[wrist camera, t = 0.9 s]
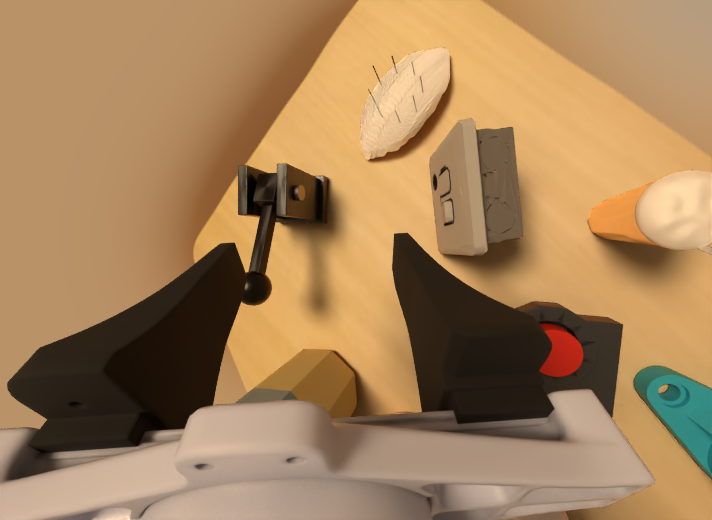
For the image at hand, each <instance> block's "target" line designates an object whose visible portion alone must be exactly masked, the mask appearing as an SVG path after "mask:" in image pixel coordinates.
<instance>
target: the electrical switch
mask: <svg viewBox="0 0 712 520" xmlns="http://www.w3.org/2000/svg"><path fill="white" fill-rule="evenodd" d="M507 144H508V145H507ZM506 160H507V161H506ZM429 167H430V177H431V186H432V196H433V205H434V214H435V224H436V233H437V242H438V250H439V252H440V253H441V254H453V255H471V256H474V255H484V254H485V253H486V252H487V251H488V248H487V243H497V242H503V241H507V240H513V239H520V238H521V237H523V227H522V217H521V206H520V196H519V185H518V175H517V164H516V154H515V143H514V133H513V127H508V128H501V129H481V130H476V125H475V121H474V120H473V119H472V118H470V119H465V120H459V121H458V122H457V123H456V125H455V126H454V127H453V128H452V130H451V131H450V132H449V134H448V135H447V136H446V138H445V139H444V140H443V142H442V143H441V144H440V146H439V147H438V148H437V149H436V151H435V152H434V153H433V155H432V156H431V157H430V163H429ZM495 170H498V171H497V172H495V173H494V174H492V173H490V171H495ZM485 175H486V177H485ZM496 197H497V198H499V199H495V198H496ZM502 202H504V203H502ZM489 206H490V208H489V209H488V207H489ZM515 215H516V217H515ZM509 229H510V230H509ZM490 230H491V231H490ZM507 230H508V231H507ZM492 231H493V232H492Z"/></svg>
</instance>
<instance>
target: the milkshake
mask: <svg viewBox="0 0 712 520" xmlns="http://www.w3.org/2000/svg"><path fill="white" fill-rule="evenodd" d="M587 221H588V223H589V226H590V228H591V231H592V232H593V233H595V234H597V235H599V236H601V237H602V238H605V239H613V240H620V241H627V242H634V243H642V244H647V245H653V246H658V247H664V248H668V249H673V250H690V249H699V250H701V251H704V252H706V253H708V254H710V255H712V247H710V246H707V245H710V244H712V173H711V172H704V171H696V170H687V171H681V172H676V173H673V174H670V175H667V176H665V177H662V178H660V179H658V180H655V181H653V182H651V183H648V184H646V185H644V186H641V187H639V188H636V189H634V190H631V191H628V192H626V193H623V194H620V195H618V196H615V197H612V198H610V199H607V200H605V201H603V202H601V203H600V204H599V205H597V206H596V207H594V208H593V209H592V210H591V213H590V215H589V218H588V220H587Z"/></svg>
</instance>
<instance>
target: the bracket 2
mask: <svg viewBox="0 0 712 520" xmlns="http://www.w3.org/2000/svg"><path fill="white" fill-rule="evenodd" d="M664 384H669V389H668V390H667V391H666V392H664V393H658V389H659V387H660V386H662V385H664ZM634 386H635V389H636V391H637V393H638V394H639V396H640V397H641V398H642V399H643V400H644V401H645V403H646V404H647V405H648V406H649V407H650V409H651V410H652V411H653V412H654V413H655V415H656V416H657V417H658V418H659V419H660V420H661V422H662V423H663V424H664V425H665V426H666V428H667V429H668V430H669V431H670V432H671V434H672V435H673V436H674V437H675V438H676V439H677V441H678V442H679V443H680V444H681V445H682V447H683V448H684V449H685V450H686V451H687V453H688V454H689V455H690V456H691V457H692V458H693V460H694V461H695V462H696V463H697V464H698V466H699V467H700V468H701V469H702V470H703V471H704V472H705V473H706V474H707V475H709V476H710V477H711V478H712V389H711V388H709V387H707V386H705V385H703V384H701V383H699V382H697V381H695V380H692V379H690V378H688V377H686V376H684V375H682V374H680V373H678V372H676V371H673V370H671V369H669V368H666V367H661V366H652V367H647V368H645V369H643V370H641V371H640V372H639V373H638V374H637V376H636V377H635V380H634Z"/></svg>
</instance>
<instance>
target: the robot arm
mask: <svg viewBox="0 0 712 520" xmlns="http://www.w3.org/2000/svg"><path fill="white" fill-rule="evenodd" d="M392 270H393V277H394V283H395V288H396V291H397V295H398V298H399V301H400V305H401V308H402V311H403V315H404V318H405V321H406V324H407V328H408V332H409V337H410V342H411V347H412V353H413V358H414V364H415V370H416V376H417V382H418V388H419V395H420V401H421V408H422V412H419V413H405V414H391V415H376V416H362V417H347V418H333V419H331V415H330V414H329V412H328V411H327V410H326V409H325V407H323V406H322V405H321V404H318V403H315V402H312V401H310V400H295V399H291V400H276V401H261V402H247V403H232V404H218V405H213V401H214V396H215V391H216V385H217V380H218V376H219V371H220V366H221V362H222V358H223V354H224V350H225V345H226V343H227V339H228V336H229V334H230V331H231V328H232V325H233V323H234V320H235V317H236V315H237V312H238V309H239V306H240V304H241V301H242V298H243V294H244V290H245V285H246V279H247V276H246V273H245V270H244V267H243V264H242V262H241V259H240V256H239V253H238V251H237V248H236V245H235V243H221V244H219V245H218V246H217V247H215V248H214V249H213V250H211V251H210V252H209V253H208V254H206V255H205V256H204V257H203V258H202V259H200V260H199V261H198V262H197V263H195V264H194V265H193V266H192V267H190V268H189V269H188V270H187V271H185V272H184V273H183V274H181V275H180V276H179V277H177V278H176V279H175V280H173V281H172V282H170V283H169V284H168V285H166V286H165V287H163V288H162V289H160V290H159V291H157V292H156V293H154V294H153V295H151V296H150V297H148V298H146V299H145V300H143V301H141V302H139V303H138V304H136V305H134V306H132V307H130V308H128V309H127V310H125V311H123V312H121V313H119V314H117V315H116V316H113V317H111V318H109V319H107V320H105V321H103V322H101V323H99V324H97V325H94V326H92V327H90V328H88V329H85V330H83V331H81V332H78V333H76V334H74V335H71V336H69V337H66V338H64V339H61V340H58V341H56V342H53V343H51V344H48V345H45V346H43V347H40V348H39V349H38V350H37V351H36V352H35V353H34V354H33V355H32V357H31V358H30V359H29V360H28V361H27V362H26V363H25V364H24V365H23V366H22V367H21V368H20V369H19V371H18V372H17V373H16V374H15V375H14V376H13V377H12V378H11V379H10V380H9V381H8V384H7V386H8V391H9V392H10V393H11V395H12V396H13V397H14V398H15V399H16V400H18V401H19V402H21V403H22V404H24V405H25V406H27V407H29V408H30V409H32V410H33V411H35V412H37V413H38V414H40V415H41V416H43V417H45V418H46V419H47V421H46V422H45V423H44V425H43V426H42V427H41V429H36V428H29V427H23V428H8V429H0V520H569V518H568V516H567V514H566V511H568V510H578V509H589V508H601V507H608V506H610V505H612V504H614V503H616V502H618V501H620V500H622V499H624V498H626V497H628V496H630V495H632V494H634V493H637V492H639V491H641V490H643V489H645V488H647V487H649V486H651V485H653V484H655V478H654V477H653V476H652V474H651V473H650V471H649V470H648V469H647V467H646V466H645V464H644V463H643V461H642V460H641V459H640V457H639V456H638V454H637V453H636V452H635V450H634V449H633V447H632V446H631V445H630V443H629V442H628V440H627V439H626V438H625V436H624V435H623V433H622V432H621V431H620V429H619V428H618V426H617V425H616V424H615V422H614V421H613V419H612V418H611V417H610V415H609V414H608V412H607V411H606V409H605V408H604V407H603V405H602V404H601V402H600V401H599V400H598V398H597V397H596V395H595V394H594V393H593V391H592V390H590V389H578V390H564V391H555V392H552V393H550V394H548V395H546V393H545V391H544V390H543V388H542V386H541V385H543V384H544V380H543V378H542V376H541V375H540V373H539V370H540V369H541V367H542V366H543V364H544V363H545V361H546V360H547V358H548V357H549V355H550V352H551V350H552V341H551V340H550V338H549V337H548V335H547V334H546V332H545V331H544V329H543V328H542V326H541V325H540V324H539V322H538V321H537V320H536V319H535V317H534V316H532V315H529V314H527V313H524V312H522V311H519V310H517V309H514V308H511V307H509V306H507V305H504V304H502V303H500V302H498V301H496V300H494V299H492V298H490V297H488V296H486V295H484V294H482V293H480V292H479V291H477V290H475V289H473V288H472V287H470V286H468V285H467V284H465V283H464V282H462V281H461V280H459V279H458V278H456V277H455V276H453V275H452V274H451V273H449V272H448V271H447V270H445V269H444V268H443V267H442V266H441V265H439V264H438V263H437V262H436V261H435V260H434V259H433V258H432V257H431V256H430V255H429V254H428V253H426V252H425V251H424V250H423V248H422V247H421V246H420V245H419V244H418V243H417V242H416V241H415V240H414V239H413V238H412V237H411V236H410V235H409V234H408V233H398V234H394V247H393V263H392Z"/></svg>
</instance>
